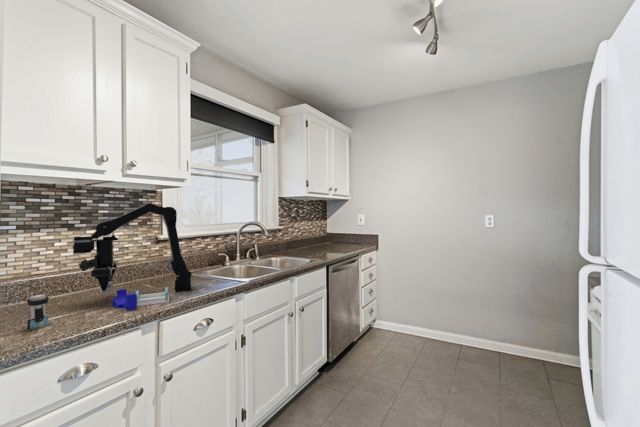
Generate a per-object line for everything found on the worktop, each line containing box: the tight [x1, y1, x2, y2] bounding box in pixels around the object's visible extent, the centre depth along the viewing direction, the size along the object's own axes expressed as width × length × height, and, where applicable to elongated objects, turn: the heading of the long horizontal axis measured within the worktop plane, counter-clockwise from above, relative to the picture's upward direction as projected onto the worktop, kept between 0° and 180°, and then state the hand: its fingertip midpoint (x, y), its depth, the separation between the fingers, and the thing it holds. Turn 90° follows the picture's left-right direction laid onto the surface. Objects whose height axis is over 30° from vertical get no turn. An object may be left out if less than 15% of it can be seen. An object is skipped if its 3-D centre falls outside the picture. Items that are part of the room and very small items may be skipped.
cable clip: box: [111, 288, 138, 312], centre depth 121 cm, size 12×4×6 cm, turn 51°
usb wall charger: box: [99, 281, 114, 294], centre depth 130 cm, size 4×7×4 cm, turn 45°
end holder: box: [134, 286, 170, 307], centre depth 129 cm, size 13×10×4 cm
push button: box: [26, 294, 54, 330], centre depth 102 cm, size 7×5×10 cm
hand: (105, 288), depth 129 cm, fingers closed on usb wall charger, 7 cm apart
